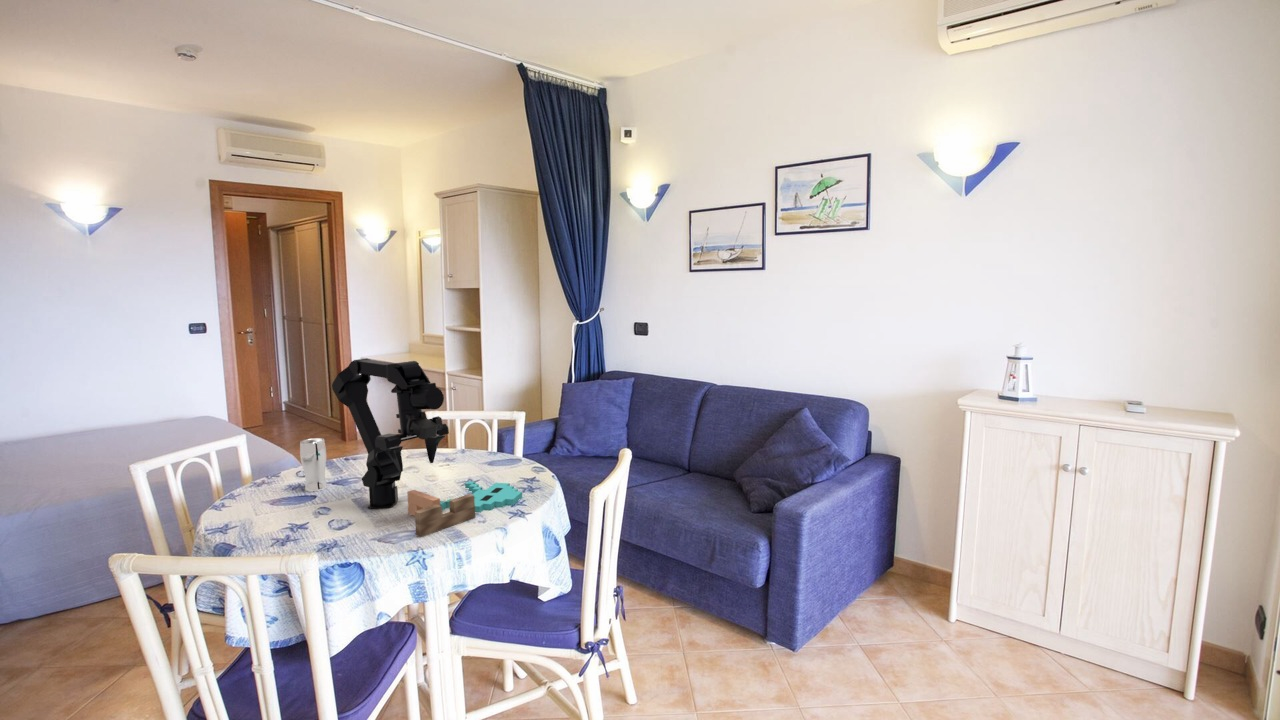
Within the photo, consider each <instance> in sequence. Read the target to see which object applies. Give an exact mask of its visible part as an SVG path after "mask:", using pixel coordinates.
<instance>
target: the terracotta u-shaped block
mask: <svg viewBox="0 0 1280 720" xmlns="http://www.w3.org/2000/svg"><path fill="white" fill-rule="evenodd" d="M406 493H407V505H408V514H409V515H410V516H411V515H412V516H414V517H415V511H418V510H421V509H424V508H427V507H430V506H433V505H440V501H441V499H440V498H439V497H436V496H433V495H431V494H427V493H425V492H422V491H418V490H416V489H413V490H408V491H407V492H406Z"/></svg>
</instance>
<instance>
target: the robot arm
mask: <svg viewBox="0 0 1280 720" xmlns="http://www.w3.org/2000/svg"><path fill="white" fill-rule="evenodd" d="M371 377H378V378H384V379H386V380H387V381H388V383H390V384H393V385H394V387H393V388H392V389H391V391H390V392H391V393H392V394H396V401H397V407H398V408H397V409H398V413H397V414H395V415H396V419H399V426H400V428H399V429H397V431H398V432H397V433H386V434H381V431H380V428H379V426H378V424H377V421H376V420H375V417H374V415H373V413H372V411H371V410H372V409H371V408H370V406H369V403H368V399H367V398H368V395H369V388H368V384H369V383H370V381H371V380H372V379H371ZM331 389H332V391H333V393H334V395H335V396H336V399H338V402H339V403H342V404H343V405H344V406H345V407H347V408H348V409H349V412H350V414H351V416H352V419H353V422H354V424H355V426H356V428H357V430H358V433H359V435H360V438H361V439H362V440H361V441H362V443H363V444H364V447H365V449H366V452H367V458H366V462H365V463H366V464H365V465H366V468H367V470H366V472H365V474H364V475H363V476H362V478H361V481H362V484H363V485H362V486H363V487H366V488H368V494H369V495H368V496H369V505H368V506H367V509H369V510H371V509H384V508H386V509H387V508H388V509H389V508H393V507H394V506H395V505H396V503H397V502H398V501H399V492H398V491H399V490H398V485H396V482H397V481H398V482H399V481H400V480H401V476H402V472H403V471H404V465H403V464H404V463H403V459H402V458H403V457H402V450H403V448H404V447H403V446H401V444H402V442H405V441H409V440H413V439H414V440H415V439H420V440H424V443H425V449H426V452H427V458H428V461H429V463H430V464H433V463H434V462H435V459H436V458H435V457H436V454H437V449H438V446H439V444H440V442H441V441H442V439H444V438H446V435H450V431H449V430H450V429H449V426H448V425H447V423H443V419H442V417H440V416H438V415H437V416H433V417H432V418H427V414H426V411H422V410H438V409H440V408H441V407H442V405H443V404H444V400H445V396H444V394H443V392H442V390H441V389H440V388H439V387H437V384H436V382H431V381H430V378H429V377H428V376H427V375H426V373H425V371H424V370H423V368H422V366H421V365H419V362H418V361H417V360H411V361H402V362H401V361H400V362H396V363H395V362H389V361H383V360H374V359H369V358H366V357H365V358H360V359H354V360H352V361H351V362H349V364H348V366H346V367H345V368H344V369H343V370H342V371H340V372H338V374H337V375H336V377H335V379H334V380H333V381H332V384H331Z"/></svg>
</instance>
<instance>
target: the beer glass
mask: <svg viewBox="0 0 1280 720" xmlns="http://www.w3.org/2000/svg"><path fill="white" fill-rule="evenodd" d="M325 442H326V441H325V439H324V438H322V437H315V438H307V439H302V440H301V441H299V443H300V444H299V456H300V461H301V466H302V470H303V475H304V479H305V484H304V491H305V492H307V491H308V493H314V492H313V491H316V492H320V491H323V490H326V489H327V488H328V484H327V481H326V468H327V467H326V466H327V465H326V464H327V448H326V443H325Z"/></svg>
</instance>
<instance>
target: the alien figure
mask: <svg viewBox="0 0 1280 720" xmlns="http://www.w3.org/2000/svg"><path fill="white" fill-rule="evenodd" d="M465 488H469V489H468V492H469V491H472V492H471V495H474V500H475V512H480V513H482V512H483V511H492V510H493V509H495V508H494V507H503V506H504V507H505V506H512V505H513V506H515V503H516V502H517V501H518V500H519V499H520V500H522V498H523V491H519V488H515V485H511V483H509V482H495V483H493V484H492V485H491V486H489V487H488V488H486V489H484V488H483V486H480V484H478V483H476V481H473V480H469V481H467V482H465V483H464V489H465ZM452 499H453V498H449V499H447V500H446V501H442V500H440V506H442V511H444V510H445V509H446V508H447V509H450V504H449V500H452ZM520 500H519V501H520ZM519 501H518V502H519ZM518 502H517V503H518ZM517 503H516V504H517ZM504 507H503V508H504ZM481 511H482V512H481Z"/></svg>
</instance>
